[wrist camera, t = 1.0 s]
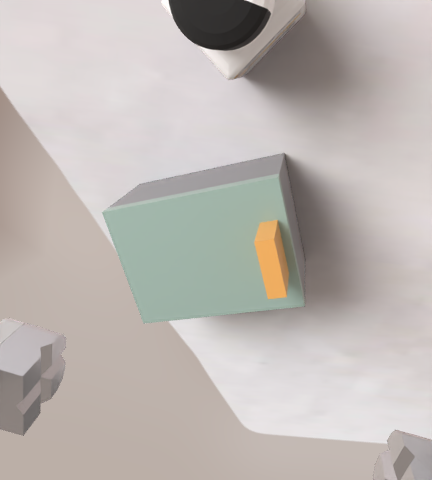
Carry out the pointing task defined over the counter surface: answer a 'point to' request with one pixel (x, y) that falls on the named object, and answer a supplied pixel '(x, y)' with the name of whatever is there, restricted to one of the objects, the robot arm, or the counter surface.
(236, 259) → the lid
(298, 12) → the container
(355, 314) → the counter surface
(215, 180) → the tub
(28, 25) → the counter surface
